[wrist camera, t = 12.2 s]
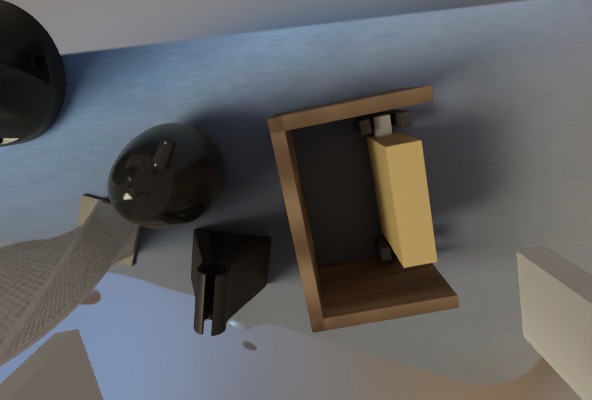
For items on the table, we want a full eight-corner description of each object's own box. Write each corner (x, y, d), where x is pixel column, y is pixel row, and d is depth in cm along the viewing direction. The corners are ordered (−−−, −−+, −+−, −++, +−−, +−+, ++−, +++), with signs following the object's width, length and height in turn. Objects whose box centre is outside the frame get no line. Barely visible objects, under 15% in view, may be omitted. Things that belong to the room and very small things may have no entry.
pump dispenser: (250, 151, 46) (225, 176, 31) (204, 227, 48) (160, 283, 33) (170, 100, 45) (104, 100, 30) (126, 180, 47) (44, 217, 32)
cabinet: (276, 114, 45) (267, 119, 33) (397, 89, 44) (431, 85, 32) (310, 277, 49) (312, 332, 38) (421, 257, 48) (458, 307, 37)
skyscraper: (86, 182, 47) (-214, 294, 20) (156, 201, 47) (-44, 338, 20) (74, 249, 49) (-213, 436, 22) (142, 267, 49) (-58, 474, 22)
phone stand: (271, 237, 48) (261, 280, 36) (266, 284, 50) (255, 341, 38) (194, 228, 48) (159, 269, 36) (191, 276, 49) (157, 330, 38)
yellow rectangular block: (363, 117, 45) (382, 123, 34) (390, 112, 45) (418, 116, 34) (384, 246, 48) (406, 287, 38) (409, 241, 48) (440, 282, 37)
